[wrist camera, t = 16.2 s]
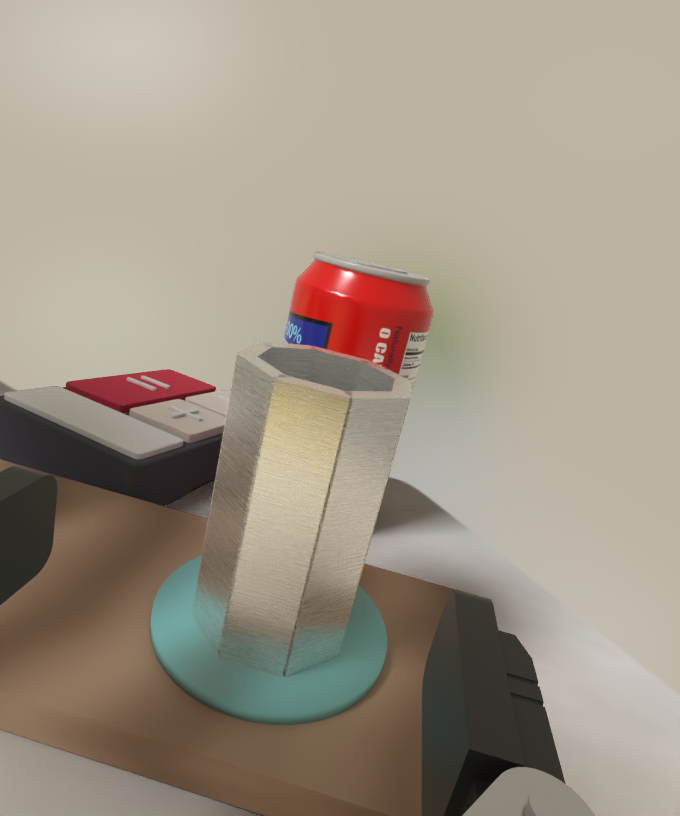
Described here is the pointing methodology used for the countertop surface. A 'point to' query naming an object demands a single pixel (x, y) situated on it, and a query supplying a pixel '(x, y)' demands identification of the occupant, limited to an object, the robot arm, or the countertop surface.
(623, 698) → the countertop surface
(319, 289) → the soda can
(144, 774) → the jig board
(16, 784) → the countertop surface
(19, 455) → the calculator
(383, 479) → the sleeve
